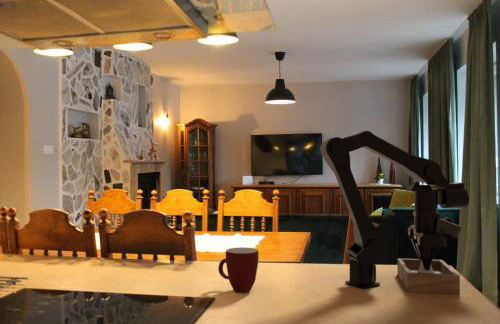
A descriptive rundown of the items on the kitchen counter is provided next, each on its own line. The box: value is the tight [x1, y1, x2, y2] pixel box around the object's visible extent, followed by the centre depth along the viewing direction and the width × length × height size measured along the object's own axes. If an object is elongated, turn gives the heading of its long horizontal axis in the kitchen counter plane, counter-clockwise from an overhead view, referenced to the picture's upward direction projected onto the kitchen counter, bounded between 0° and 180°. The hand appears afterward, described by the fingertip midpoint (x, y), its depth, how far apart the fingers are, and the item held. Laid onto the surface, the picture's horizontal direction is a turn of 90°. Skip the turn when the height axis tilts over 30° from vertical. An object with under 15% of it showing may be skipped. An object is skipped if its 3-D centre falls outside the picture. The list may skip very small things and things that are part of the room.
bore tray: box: [397, 258, 461, 295], centre depth 123 cm, size 18×12×4 cm, turn 170°
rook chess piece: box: [417, 260, 434, 273], centre depth 123 cm, size 4×4×8 cm
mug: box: [217, 246, 260, 294], centre depth 116 cm, size 10×8×10 cm
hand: (425, 268), depth 123 cm, fingers closed on rook chess piece, 3 cm apart
